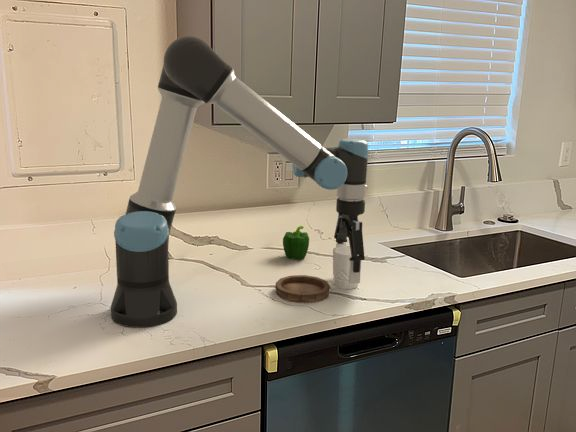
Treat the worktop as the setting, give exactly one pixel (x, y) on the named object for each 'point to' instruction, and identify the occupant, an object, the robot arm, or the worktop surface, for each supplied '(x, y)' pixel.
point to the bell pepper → (296, 244)
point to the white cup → (342, 268)
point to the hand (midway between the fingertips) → (347, 274)
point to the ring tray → (302, 289)
